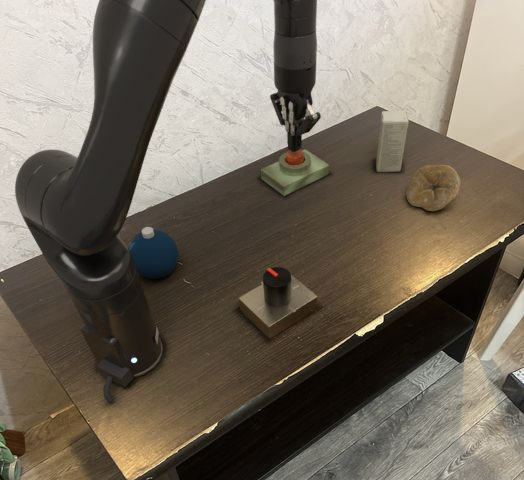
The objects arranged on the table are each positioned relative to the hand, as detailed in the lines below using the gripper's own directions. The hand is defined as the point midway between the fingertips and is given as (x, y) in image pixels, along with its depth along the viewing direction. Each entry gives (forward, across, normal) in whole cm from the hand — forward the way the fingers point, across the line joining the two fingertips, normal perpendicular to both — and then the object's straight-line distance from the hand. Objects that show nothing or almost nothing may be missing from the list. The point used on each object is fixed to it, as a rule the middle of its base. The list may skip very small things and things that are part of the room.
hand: (294, 149), depth 102 cm
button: (+3, 0, 0) cm, 3 cm away
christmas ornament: (+7, +7, -37) cm, 38 cm away
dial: (+3, +28, -26) cm, 38 cm away
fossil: (+6, +24, +15) cm, 29 cm away
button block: (+6, 0, 0) cm, 6 cm away
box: (+6, +10, +18) cm, 21 cm away
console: (+6, +28, -26) cm, 39 cm away
